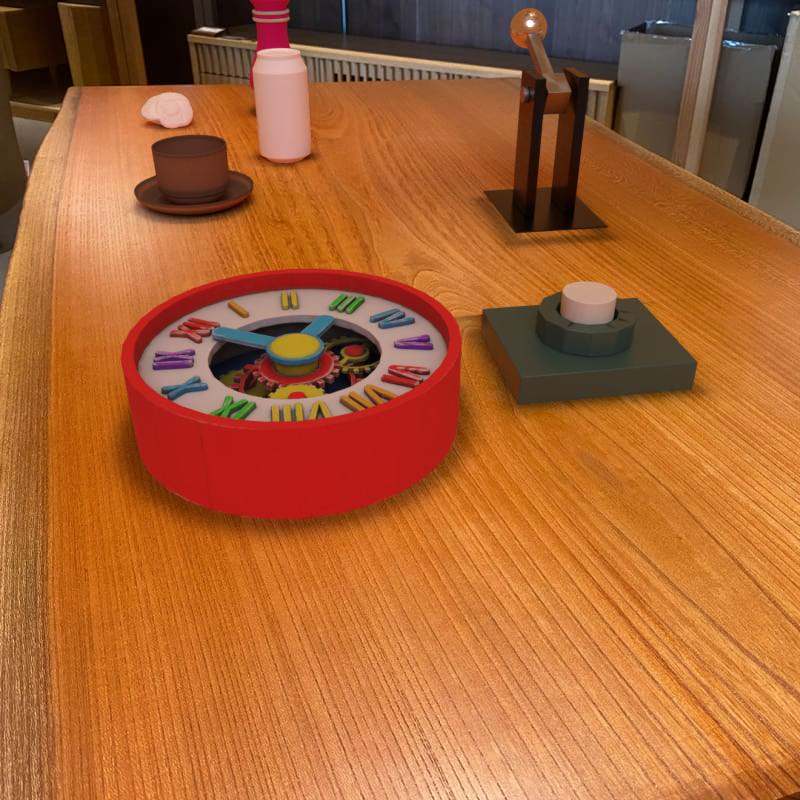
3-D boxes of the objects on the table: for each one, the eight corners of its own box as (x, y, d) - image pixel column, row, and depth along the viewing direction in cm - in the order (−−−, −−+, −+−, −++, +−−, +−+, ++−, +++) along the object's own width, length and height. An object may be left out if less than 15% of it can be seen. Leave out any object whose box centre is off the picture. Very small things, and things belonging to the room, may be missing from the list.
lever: (503, 34, 85) (510, 0, 82) (537, 33, 85) (545, 0, 82) (534, 120, 78) (542, 87, 75) (571, 119, 78) (581, 85, 75)
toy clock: (380, 467, 39) (42, 381, 45) (382, 560, 42) (65, 468, 49) (503, 296, 55) (239, 251, 61) (498, 374, 58) (246, 323, 64)
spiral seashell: (194, 121, 117) (195, 94, 114) (190, 138, 113) (191, 110, 110) (142, 113, 116) (142, 85, 113) (136, 130, 112) (136, 101, 109)
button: (602, 302, 59) (605, 279, 58) (621, 325, 56) (625, 301, 55) (552, 305, 59) (555, 282, 58) (570, 329, 56) (573, 305, 55)
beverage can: (250, 157, 101) (240, 51, 95) (292, 148, 105) (285, 45, 98) (279, 169, 97) (271, 59, 91) (322, 158, 101) (317, 52, 94)
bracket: (482, 201, 88) (490, 62, 80) (565, 197, 89) (580, 59, 82) (514, 244, 78) (526, 89, 70) (606, 238, 79) (628, 85, 72)
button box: (632, 323, 64) (640, 274, 62) (692, 390, 56) (703, 337, 54) (480, 335, 63) (483, 285, 60) (518, 406, 54) (523, 352, 52)
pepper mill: (285, 104, 124) (275, -49, 114) (313, 113, 120) (305, -45, 109) (243, 111, 121) (228, -46, 110) (270, 121, 116) (257, -42, 105)
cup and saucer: (125, 196, 89) (115, 137, 86) (234, 179, 94) (228, 123, 91) (152, 232, 80) (142, 168, 77) (271, 212, 85) (266, 151, 82)
